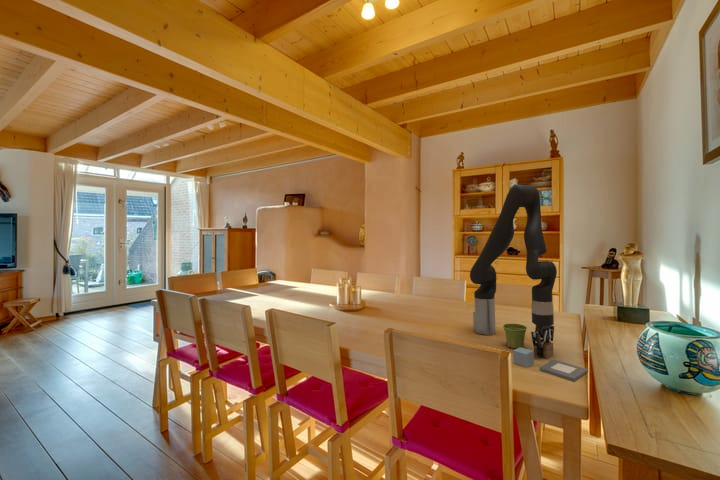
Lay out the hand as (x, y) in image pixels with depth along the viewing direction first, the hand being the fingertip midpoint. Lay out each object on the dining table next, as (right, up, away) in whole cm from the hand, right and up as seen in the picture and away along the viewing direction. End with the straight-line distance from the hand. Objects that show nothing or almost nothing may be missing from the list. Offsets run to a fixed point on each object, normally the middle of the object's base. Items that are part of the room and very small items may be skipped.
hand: (543, 354), depth 126 cm
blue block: (-11, -1, -6) cm, 13 cm away
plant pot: (-6, -1, +11) cm, 12 cm away
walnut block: (0, 0, 0) cm, 0 cm away
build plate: (-1, -1, -14) cm, 14 cm away
